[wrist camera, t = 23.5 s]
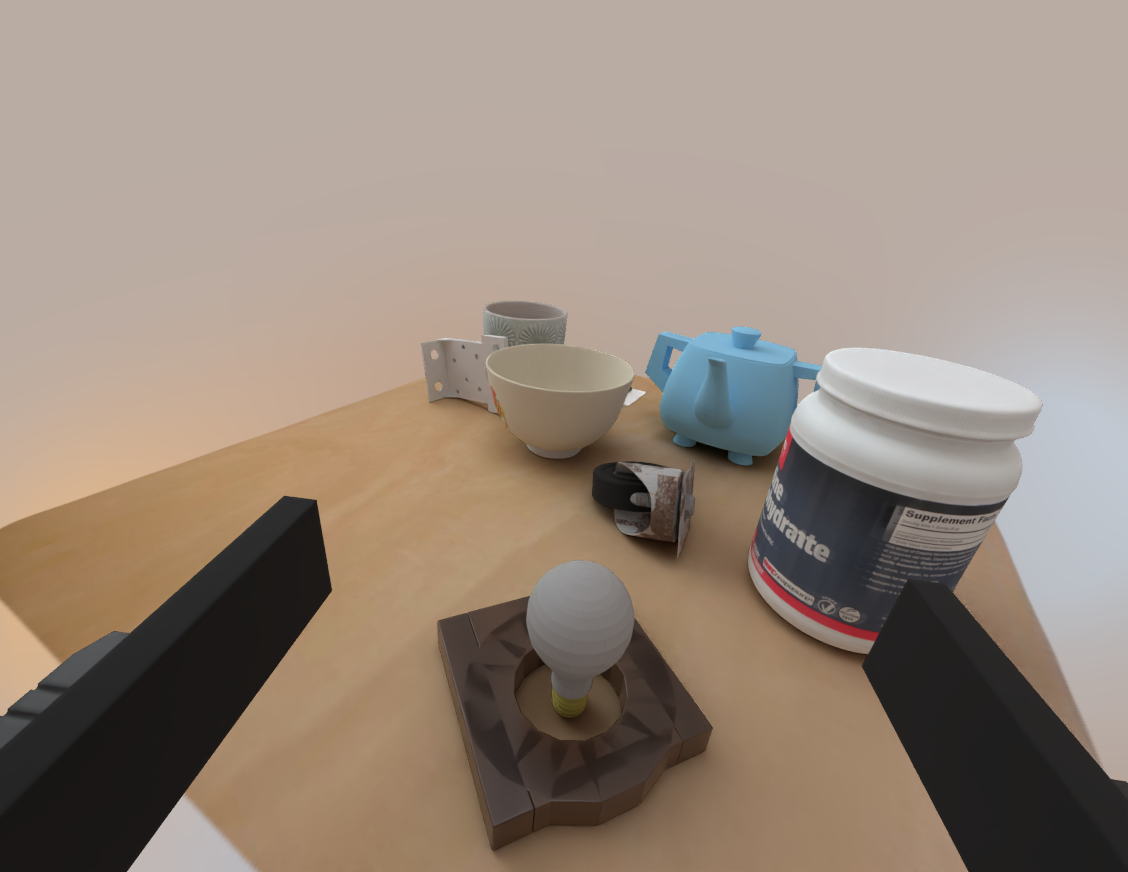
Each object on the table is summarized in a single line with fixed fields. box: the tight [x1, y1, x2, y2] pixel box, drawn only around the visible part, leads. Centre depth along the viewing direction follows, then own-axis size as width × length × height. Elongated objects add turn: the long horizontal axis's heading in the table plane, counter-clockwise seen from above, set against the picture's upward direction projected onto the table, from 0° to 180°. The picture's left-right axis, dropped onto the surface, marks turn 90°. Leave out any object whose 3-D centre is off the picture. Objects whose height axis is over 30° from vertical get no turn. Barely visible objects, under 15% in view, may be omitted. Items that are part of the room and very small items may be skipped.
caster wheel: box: [592, 460, 695, 557], centre depth 45 cm, size 7×11×10 cm
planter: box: [483, 301, 567, 350], centre depth 74 cm, size 12×12×11 cm
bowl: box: [486, 344, 634, 459], centre depth 55 cm, size 16×16×10 cm
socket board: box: [437, 596, 713, 850], centre depth 28 cm, size 12×13×2 cm
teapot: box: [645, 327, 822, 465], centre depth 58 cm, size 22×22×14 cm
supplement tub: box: [748, 348, 1043, 654], centre depth 34 cm, size 13×13×18 cm
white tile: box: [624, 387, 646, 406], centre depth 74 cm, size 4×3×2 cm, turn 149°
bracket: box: [421, 335, 508, 413], centre depth 62 cm, size 11×4×10 cm, turn 54°
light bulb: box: [526, 560, 634, 718], centre depth 26 cm, size 6×6×10 cm
